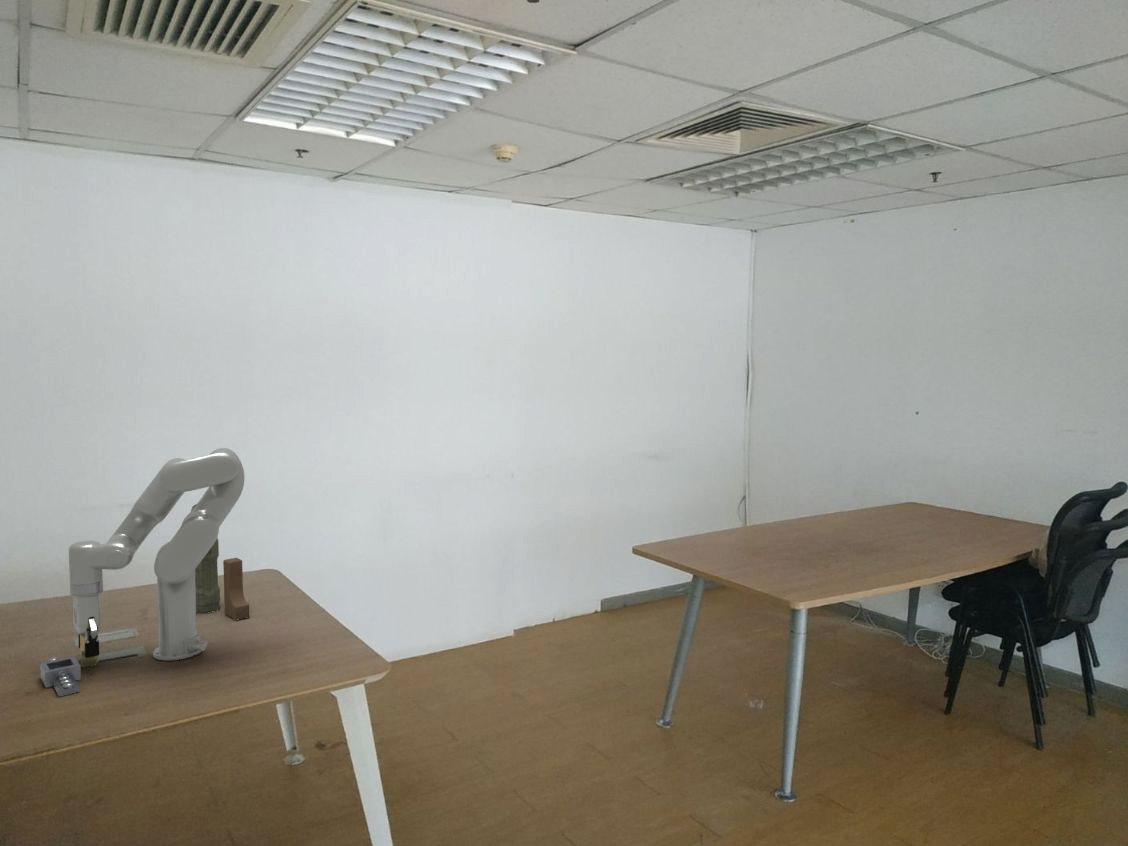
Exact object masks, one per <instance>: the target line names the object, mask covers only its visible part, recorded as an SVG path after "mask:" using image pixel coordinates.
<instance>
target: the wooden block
mask: <svg viewBox="0 0 1128 846" xmlns="http://www.w3.org/2000/svg"><path fill="white" fill-rule="evenodd" d="M222 566H223V596H224V597H223V599H224V600H223V601H224V614H225V616H227V615H228V616H227V617H229V616H230V617H229V618H231V617H232V618H233V619H232V618H231V619H232V620H234V619H235V620H234V621H236V620H237V619H241V620H243V619H242V618H246V617H249V618H250V604H249V602H247V601H246V598H245V596H244V595H245V594H244V582H243V581H244V580H243V578H244V577H243V560H242V559H240V558H238V557H232V558H228V559H224V560H223V564H222ZM246 619H247V618H246ZM237 621H238V620H237Z"/></svg>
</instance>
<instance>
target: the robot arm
mask: <svg viewBox="0 0 1128 846" xmlns="http://www.w3.org/2000/svg"><path fill="white" fill-rule="evenodd" d="M244 469H245V468H244V466H243V463H242V461H241V459H240V458H239V456H238V455H237V453H236V452H235V451H233V450H232V449H230V448H227V447H219V448H216V449H214V450H213V451H212V452H210V453H209V454H207V455H204V456H203V455H202V456H199V457H195V458H190V459H184V458H180V457H178V458H177V457H176V458H172V459H170V460H168V461H166V462H165V463H164V464H163V466H162V467H161V468H160V470H159V471H158V473H157V474H156V475H155V476H154V478H153V479H152V480H151V482H149V484H148V486H147V487H146V488H145V490H144V491H143V492H142V494H140V496H139V498H138V499H137V500H136V501H135V503H133V506H132V508H131V510H130V511H129V513H128V514H127V516H126V517H125V518H124V519H123V521H122V522H121V524H120V525H119V526H118V528H117V529H116V530H115V531H114V533H113V534H112V535H111V537H110V538H109V539H108V541H107V542H106V543H104V544H101V543H100V542H99V541H96V540H83V541H78V542H74V543H72V544H70V545H69V547H68V568H69V571H68V572H69V591H70V592H69V593H70V594H69V596H70V597H72V598H73V599H72V600H73V602H72V605H73V607H72V614H73V615H72V618H73V619H72V620H73V621H72V626H73V628H74V629H75V631H76V632H77V636H78V648H79V649H80V635H79V634H82V633H85V639H86V643H85V657H86V658H90V657H94V656H98V657H99V656H100V639H99V634H98V633H99V632H100V631H101V630H100V629H101V606H100V595H101V594H102V593H103V592H104V579H103V578H104V577H103V575H104V574H103V570H108V571H109V570H110V571H116V570H117V571H118V570H122V569H124V568H126V567H128V566H129V565H130V563H132V561H133V558H134V556H135V554H136V552H137V550H138V549H139V548H140V547H141V545H142V543H143V542H144V541H145V539H147V537H148V535H150V533H151V532H152V531H153V529H155V528H156V526H157V525H158V524H161V523H162V522H163V521H164V520H165V519H166V517H167V516H168V515H169V514H170V512H171V511H172V509H173V508H174V507H175V505H176V504H177V503H178V502H179V500H180V499H181V497H182V496H183V495H184V494H185V493H187V492H192V491H197V490H201V489H205V488H207V490H206V491H205V492H204V493H203V495H202V497H201V498H200V499H199V501H198V502H197V503H196V506H195V507H194V508H193V510H192V511H191V510H190V511H189V513H188V514H187V515H185V517H184V519H183V521H182V522H181V525H180V527H179V529H178V530H177V532H176V533H175V535H174V536H173V537H172V538H171V540H170V541H169V542H166V543H165V544H164V545H162V546H161V547H160V548H159V550H158V551H157V554H156V557H155V560H154V564H153V568H154V569H153V571H154V574H155V576H156V581H157V583H156V585H157V586H156V587H157V592H156V593H157V617H158V618H157V625H158V647H156V648H155V649H154V650H153V651H152V657H153V658H154V659H156V660H159V661H177V660H178V661H180V660H184V659H189V658H192V657H194V655H195V656H197V655H199V654H200V653H201V652H204V651H205V650H206V648H207V646H208V643H209V642H208V641H207V640H201V635H200V634H198V632H197V631H198V630H197V614H196V587H195V569H196V567H197V566H198V565H199V563H200V562H201V561H202V559H203V558H204V557H205V555H206V554H207V553H208V551H209V550H210V549H211V547H212V546H213V544H214V543H215V541H216V539H217V538H218V537H219V532H220V531H219V530H220V527H221V526H222V525H223V522H224V521H225V519H226V518H227V517H228V516H229V514H230V513H231V512H232V509H234V507H235V506H236V503H237V502H238V501H239V498H240V497H241V495H242V492H243V489H244V486H245V470H244ZM88 629H90V631H87V630H88ZM97 631H98V632H97ZM78 633H79V634H78ZM88 634H91V635H89V638H88ZM179 659H180V660H179Z"/></svg>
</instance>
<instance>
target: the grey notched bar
mask: <svg viewBox="0 0 1128 846" xmlns="http://www.w3.org/2000/svg"><path fill="white" fill-rule="evenodd" d="M39 664H40V666H39V669H40V680H41V679H42V680H41V681H43V682H42V684H43V683H44V684H43V685H45V686H44V688H45V687H49V688H51V687H50V686H54V687H53V689H54V688H55V689H54V691H55V690H56V691H55V692H57V693H56V694H57V697H58V698H61V697H65V696H64V695H66V696H70V695H73V694H72V693H74V694H77V693H76V692H78V693H81V692H80V691H81V689H80V688H81V687H80V684H79V681H81V680H82V675H81V674H82V671H81V670H82V669H81V667H82V666H81V663H80V662H79V660H78V659H77V658H76V656H71V657H70V656H69V657H66V658H63V657H60V658H59V657H58V656H53V657H50V658H48V660H45V661H42V662H41V663H39ZM76 680H79V681H76ZM69 694H70V695H69ZM60 696H61V697H60Z"/></svg>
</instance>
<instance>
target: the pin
mask: <svg viewBox="0 0 1128 846" xmlns="http://www.w3.org/2000/svg"><path fill="white" fill-rule="evenodd" d="M87 631H90V629H88V630H87ZM97 632H98V633H99V631H97ZM78 634H79V633H78V632H77V635H78ZM79 635H80V648H79V650H80V667H82V666H84V667H83V668H86V667H85V666H92V665H95V664H97V663H98V662H99V660H100V659H99V655H98V656H94V657H90V658H86V657H85V643H86V639H85V633H82V634H79ZM89 635H91V634H88V638H89ZM98 664H99V663H98ZM98 664H97V665H98ZM95 666H96V665H95ZM92 667H93V666H92Z"/></svg>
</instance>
